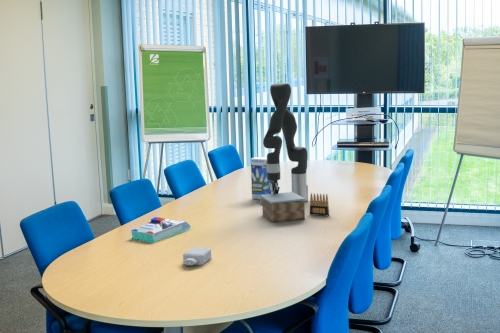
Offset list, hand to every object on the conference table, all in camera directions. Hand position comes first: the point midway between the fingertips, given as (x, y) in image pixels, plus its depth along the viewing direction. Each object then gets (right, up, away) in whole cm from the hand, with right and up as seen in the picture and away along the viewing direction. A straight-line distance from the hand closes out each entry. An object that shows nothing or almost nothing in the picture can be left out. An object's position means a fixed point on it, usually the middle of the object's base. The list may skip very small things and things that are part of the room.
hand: (274, 201), depth 328 cm
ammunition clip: (+24, -7, -10) cm, 27 cm away
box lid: (+4, -3, -12) cm, 13 cm away
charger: (-37, -22, -84) cm, 94 cm away
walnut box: (+4, -8, -12) cm, 15 cm away
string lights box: (-5, -1, +37) cm, 38 cm away
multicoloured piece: (-59, -15, -36) cm, 70 cm away
